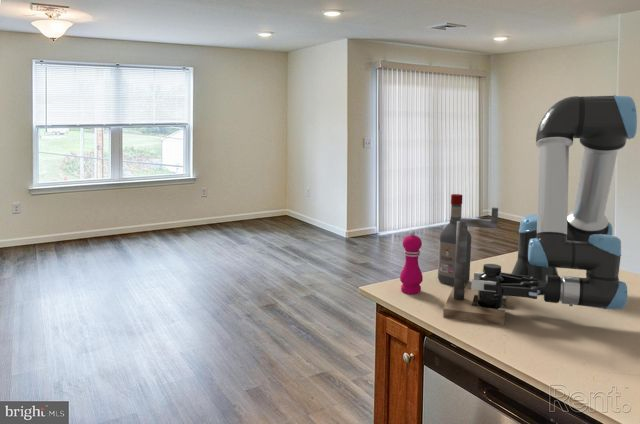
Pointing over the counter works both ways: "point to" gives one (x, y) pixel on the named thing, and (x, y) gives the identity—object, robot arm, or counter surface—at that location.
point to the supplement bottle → (488, 297)
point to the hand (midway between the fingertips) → (472, 280)
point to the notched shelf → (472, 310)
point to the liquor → (452, 245)
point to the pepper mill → (411, 265)
